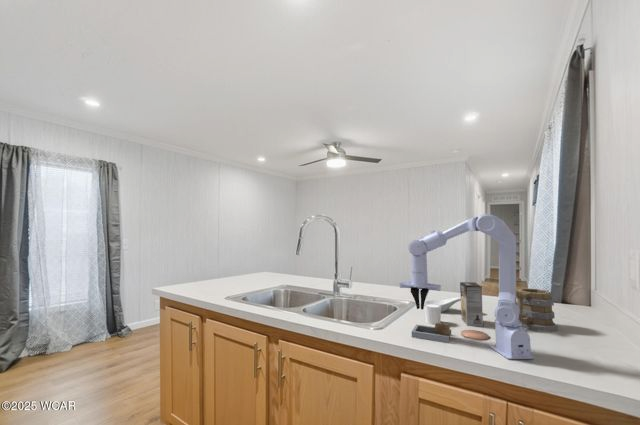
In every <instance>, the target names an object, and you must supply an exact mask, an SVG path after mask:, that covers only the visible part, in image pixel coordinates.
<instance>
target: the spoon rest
mask: <svg viewBox="0 0 640 425" xmlns="http://www.w3.org/2000/svg"><path fill="white" fill-rule="evenodd" d="M458 302H461V296H456V297H452V298H446V299H445V298H444V299H432V300H430V299H429V300H427V301H426V300H425V303H424V305H425V304H437V305H440V306H441V313H444V312H446V311H448V310H449V309H450V308H451V307H452V306H453V305H454V304H456V303H458Z"/></svg>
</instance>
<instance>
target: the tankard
mask: <svg viewBox="0 0 640 425" xmlns="http://www.w3.org/2000/svg"><path fill="white" fill-rule="evenodd" d="M516 297H517V304H518V306H519V308H520V314H519V321H520V322H521V323H522V328H525V329H529V330H532V331H539V332H540V331H541V332H553V331H558V328H559V327H558V325H557V324H556V323H555V322H554V320H553V319H555V312H554V311H553V306H554V304H555V301H554V299H553V298H552V292H550V291H548V290H545V289H538V288H529V287H528V288H525V287H524V288H519V289H518V290H516ZM552 330H553V331H552Z"/></svg>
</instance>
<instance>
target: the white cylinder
mask: <svg viewBox="0 0 640 425" xmlns="http://www.w3.org/2000/svg"><path fill="white" fill-rule="evenodd" d="M423 310H424V314H425V315H424V317H425V323H427V324H429V325H436V323H441V316H442V315H441V314H442V312H441V306H440V305H437V304H425V303H424V309H423Z"/></svg>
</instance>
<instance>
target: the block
mask: <svg viewBox="0 0 640 425" xmlns="http://www.w3.org/2000/svg"><path fill="white" fill-rule="evenodd" d="M434 327H435V334H438V335H445V336H449V340H450V339H451V336H450V329H451V328H450V327H451V326H450V324H448V323H442V322H440V323H436V324H434Z"/></svg>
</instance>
